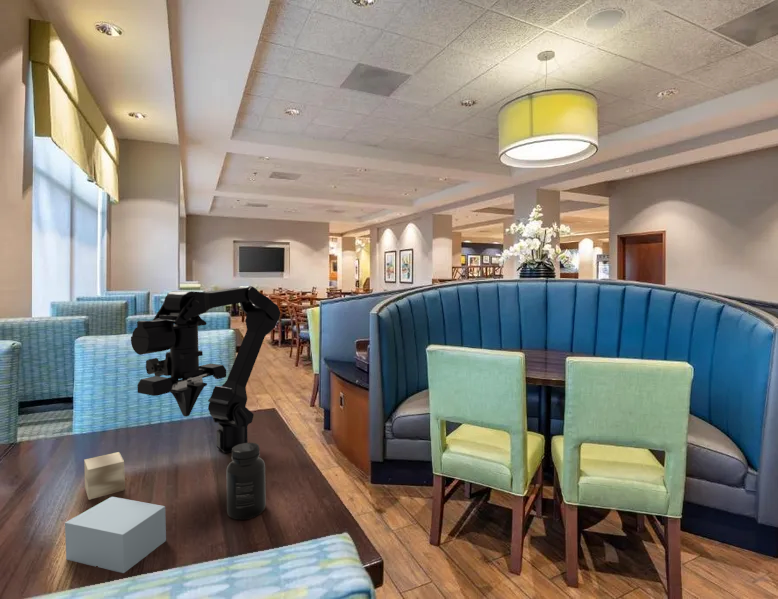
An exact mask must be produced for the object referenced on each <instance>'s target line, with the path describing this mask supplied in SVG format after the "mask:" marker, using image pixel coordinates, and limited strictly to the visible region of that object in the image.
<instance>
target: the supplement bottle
mask: <svg viewBox="0 0 778 599" xmlns="http://www.w3.org/2000/svg"><path fill="white" fill-rule="evenodd" d="M260 455H261V453H260V444H258V443H256V442H248V443H242V444H238V445H236V446H234V447H233V448H232V452H231V461H230V462H229V463H228V465H227V467H226V469H225V470H226V472H225V473H226V512H227V515H228V516H229V517H230V518H232V519H233V520H238V521H239V520H240V521H241V520H249V519H252V518H255V517H257V516H259V515H260V514H262V513H263V512H264V511H265V508H266V500H267V499H266V498H267V497H266V496H267V495H266V463H265V460H264V459H262V458H261V457H260Z"/></svg>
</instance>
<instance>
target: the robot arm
mask: <svg viewBox="0 0 778 599" xmlns="http://www.w3.org/2000/svg"><path fill="white" fill-rule="evenodd" d="M236 304H240V307H241V310H242V311H243V313H244V314H246V316H245V326H246V327H245V328H246V332H245V334H244V337H243V339H242V341H241V344H240V347H239V350H238V351H237V354H236V356H235V359H234V360H233V364H232V366H231V369H230V372H229V374H228V376H227V369H226V367H225V365H224V364H219V363H218V364H216V363H207V364H206V363H205V364H203V365H200V360H199V359H200V358H199V357H201V356H202V357H203V356H204V355H203V353H204V352H203V350H199V349H200V348H199V327H201V326H206V325H207V321H205V320H204V319H203V318H201V316H200V315H203V314H206V313H207V312H208V311H209V310H211V309H214V308H218V307H219V308H220V307H224V306H230V305H236ZM280 310H281V309H280V307H279V306H278V305H277V304H276V302H273V300H272V299H271V298H269V297H267V296H265V295H264V294H262V293H261V292H260V291H259V290H258V289H257V288H256V287H254V286H251V285H248V286H247V285H239V286H237V287H229V288H225V289H217V290H210V291H189V290H172V291H169V292H168V293H167V294H166V296H165V298H164V301H163V303H162V306H160V308H159V310H158V311H157V313H156V314H155V316H154V317H153V319H152V320H138V321H137V324H136V326H137V327H135V328H134V330H133V331H132V334H131V336H130V343H131V346H132V350H133V351H134V352H135V354H137V355H140V356H141V355H147V354H153V353H159V352H164V351H166V352H165V359H163V360H162V359H161V360H159V358H158V357H154V358H149V359H147V360H145V371H146V374H147V375H153V374H154V376H149V377H145V378H141V379H140V380H139V381H138V383H137V393H138V394H142V395H148V396H152V397H157V396H161V395H166V394H168V393H171V395H172V396H173V397H174V399H175V401H176V403H177V405H178V407H179V409H180V412H181V414H182V415H183V417H189V416H190V415H191V414H192V411H193V408H194V406H195V404H196V402H197V401H198V399H199V396H200V394H201V393H202V391H203V389H204V388H206V387H207V386H208V383H207V382H204V380H203V378H207V377H212V376H213V378H214V379H215V380H220V379H223V378H226V377H227V379H226V381H225V382H224V383H223V384H221V386H219V385H215V386H214V387H213V389H212V392H211V395H210V398H209V399H208V400H207V402H208V406H207V408H208V409H207V410H208V412H209V415H210V416H211V417H212V420H213V423H215V424H216V423H217V424H218V429H216V447H217V448H219V450H221V452H223V453H224V454H227V453H232V448H233V447H234V446H236V445H238V444H242V443H249V442H248V440H249V439H248V437H249V436H248V426H249V424H252V423H253V419H254V413H253V412H252V411H251V410H249V409H248V408H247V402H248V395H247V389H246V387H247V385H248V382H249V379H250V376H251V374H252V372H253V369H254V366H255V363H256V360H257V358H258V356H259V353H260V351H261V348H262V345H263V342H264V340H265V337H266V336H267V335H268V334H269V333H270V332H271V331H273V330H274V328H275V327H276V326H277V324H278V321H279V320H280V317H281V311H280ZM167 351H168V352H167ZM164 376H165V377H164Z"/></svg>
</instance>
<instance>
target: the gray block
mask: <svg viewBox="0 0 778 599" xmlns="http://www.w3.org/2000/svg"><path fill="white" fill-rule="evenodd" d="M166 520H167V519H166V506H165V505H159V504H155V503H148V502H143V501H138V500H133V499H128V498H122V497H116V496H110V497H109V498H107V499H105V500H103V501H102V502H100V503H98V504H96V505H93V507H90V508H89V509H87V510H85V511H84V512H82V513H79V514H77V515H76V516H74V517H72V518H70V519H69V520H67V521H65V522H64V530H65V531H64V533H65V536H64V537H65V560H67V561H71V562H76V563H79V564H84V565H87V566H92V567H96V566H98V567H97V568H101V569H105V570H109V571H112V572H117V573H120V574H125V573H126V572H128V571H129V570H130V569H131V568H133V567H134V566H135V565H136V564H138V563H139V562H141V561H142V560H143V559H144V558H145V557H147V556H148V555H149V554H151V553H152V552H153V551H155V550H156V549H157V548H159V547H160V546H161V545H162V544H164V543H165V542H166V541H167V531H166V530H167V527H166V526H167V525H166Z"/></svg>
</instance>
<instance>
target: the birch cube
mask: <svg viewBox="0 0 778 599" xmlns="http://www.w3.org/2000/svg"><path fill="white" fill-rule="evenodd" d="M83 461H84V464H83V465H84V466H83V467H84V490H85V492H86V496H87V499H88V500H89V501H90V500H93V499H97V498H101V497H105V496H108V495H111V494H114V493H119V492H122V491H125V490H126V489H125V488H126V487H125V485H126V484H125V483H126V481H125V479H126V478H125V461H124V458H123V457H122V455H121V453H120V452H119V451H118V452H113V453H108V454H103V455H100V456H94V457H90V458H86V459H85V458H84V460H83Z"/></svg>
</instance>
